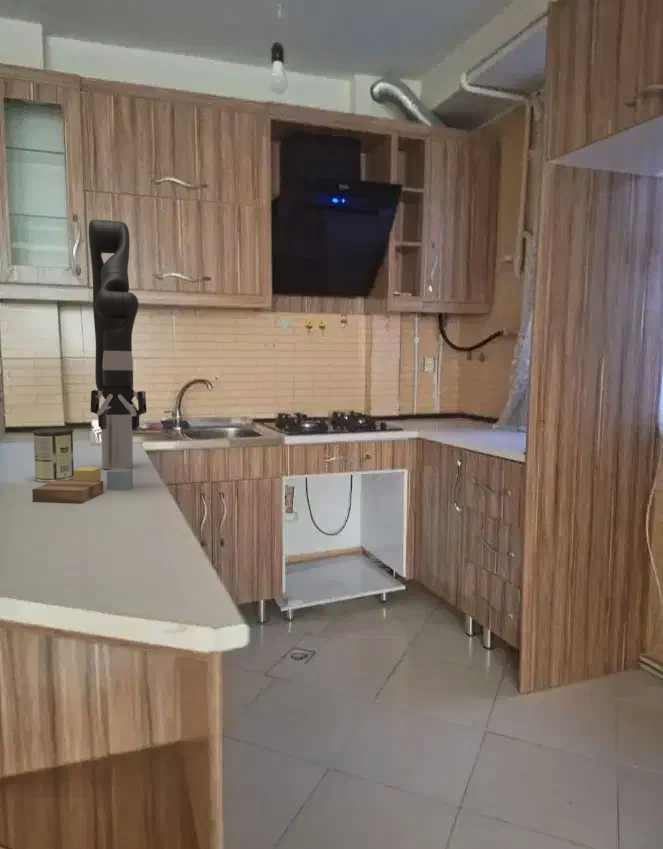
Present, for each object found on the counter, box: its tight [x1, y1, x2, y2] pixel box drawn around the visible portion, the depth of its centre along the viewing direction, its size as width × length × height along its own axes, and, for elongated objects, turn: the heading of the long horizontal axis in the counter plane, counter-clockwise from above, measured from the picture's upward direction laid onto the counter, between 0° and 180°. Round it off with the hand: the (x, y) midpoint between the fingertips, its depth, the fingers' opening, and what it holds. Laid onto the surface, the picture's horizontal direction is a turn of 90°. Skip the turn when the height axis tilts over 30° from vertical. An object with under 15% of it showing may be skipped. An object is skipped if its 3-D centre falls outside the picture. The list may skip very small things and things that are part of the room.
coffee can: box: [32, 427, 75, 483], centre depth 172 cm, size 10×10×14 cm
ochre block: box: [73, 466, 102, 481], centre depth 162 cm, size 5×5×5 cm
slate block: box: [106, 468, 134, 491], centre depth 162 cm, size 5×5×5 cm
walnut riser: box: [31, 479, 104, 504], centre depth 150 cm, size 12×12×3 cm
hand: (118, 429), depth 160 cm, fingers open, 8 cm apart
